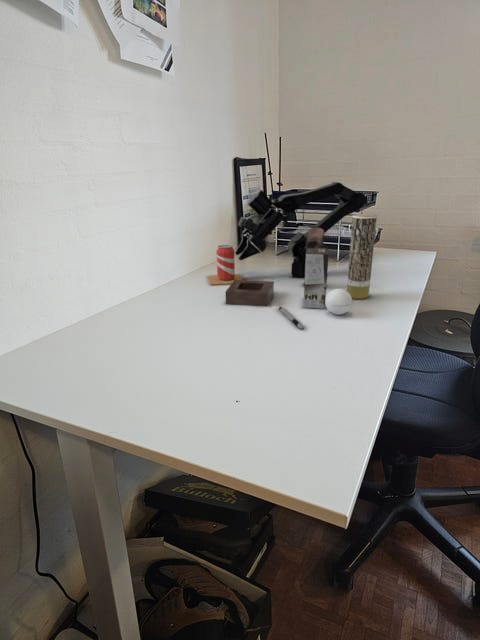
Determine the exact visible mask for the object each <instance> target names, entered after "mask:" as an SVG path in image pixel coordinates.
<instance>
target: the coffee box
mask: <svg viewBox="0 0 480 640" xmlns="http://www.w3.org/2000/svg"><path fill="white" fill-rule="evenodd" d="M329 255H330V254H329V248H328V247H323V248H307V251H306V261H305V277H304V282H305V284H304V283H303V285H304V286H303V306H302V307H303V308H306V309H323V310H324V309H325V308H326V305H325V299H326V296H327V284H328V270H329Z"/></svg>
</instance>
